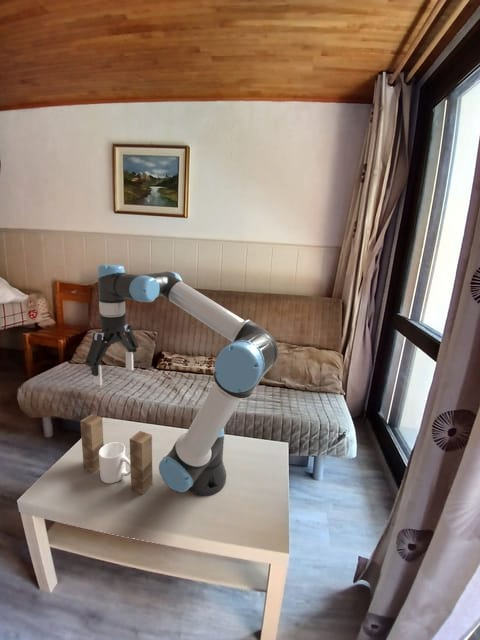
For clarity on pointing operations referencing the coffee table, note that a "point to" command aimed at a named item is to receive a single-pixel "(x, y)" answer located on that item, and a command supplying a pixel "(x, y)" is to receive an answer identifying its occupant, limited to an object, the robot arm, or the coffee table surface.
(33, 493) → the coffee table surface
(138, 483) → the post near
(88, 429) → the post far
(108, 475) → the mug
